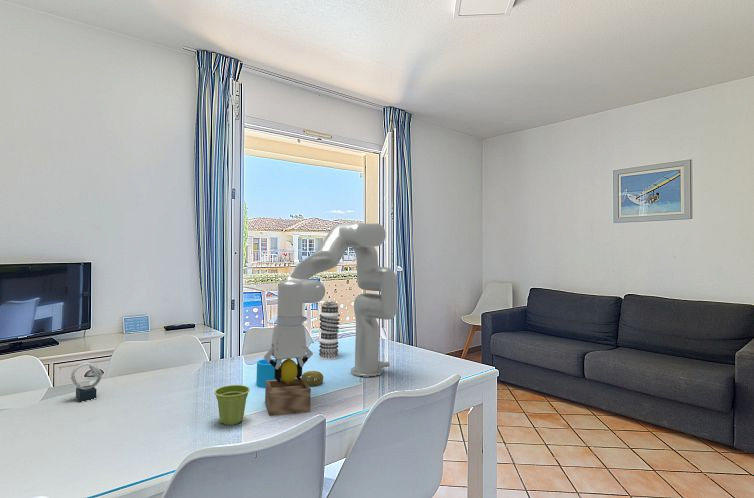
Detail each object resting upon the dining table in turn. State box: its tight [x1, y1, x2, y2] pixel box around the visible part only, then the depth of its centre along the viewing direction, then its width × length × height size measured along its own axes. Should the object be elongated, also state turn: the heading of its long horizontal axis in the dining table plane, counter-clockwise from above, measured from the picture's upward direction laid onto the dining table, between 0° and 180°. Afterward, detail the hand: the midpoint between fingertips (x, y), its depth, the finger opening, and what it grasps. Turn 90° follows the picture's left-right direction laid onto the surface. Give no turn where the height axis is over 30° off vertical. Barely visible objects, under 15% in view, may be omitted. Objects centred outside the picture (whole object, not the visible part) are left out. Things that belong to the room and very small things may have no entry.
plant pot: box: [213, 384, 251, 426], centre depth 119 cm, size 9×9×9 cm
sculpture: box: [301, 370, 324, 387], centre depth 154 cm, size 8×4×8 cm
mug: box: [255, 358, 283, 389], centre depth 153 cm, size 12×8×8 cm
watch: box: [70, 362, 103, 403], centre depth 133 cm, size 6×8×11 cm
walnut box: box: [264, 378, 312, 417], centre depth 131 cm, size 12×12×7 cm
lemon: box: [280, 359, 298, 384], centre depth 131 cm, size 6×6×8 cm
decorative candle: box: [318, 301, 341, 361], centre depth 192 cm, size 9×9×25 cm
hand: (288, 379), depth 131 cm, fingers closed on lemon, 5 cm apart
